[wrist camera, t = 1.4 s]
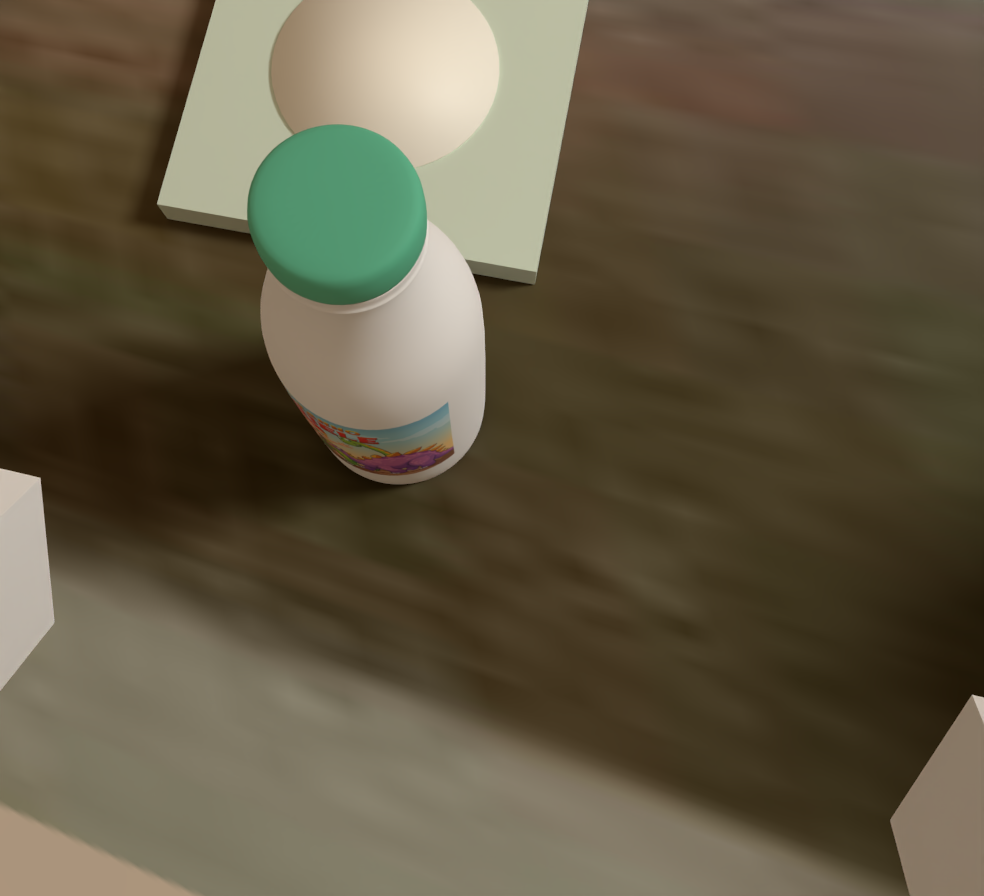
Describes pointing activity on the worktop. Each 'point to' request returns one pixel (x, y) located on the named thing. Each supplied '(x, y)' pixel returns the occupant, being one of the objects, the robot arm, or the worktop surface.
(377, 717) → the worktop surface
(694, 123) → the worktop surface
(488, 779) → the worktop surface
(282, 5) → the locating board
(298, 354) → the milk bottle
